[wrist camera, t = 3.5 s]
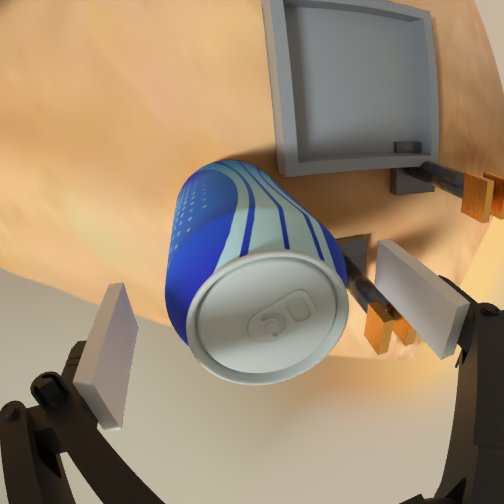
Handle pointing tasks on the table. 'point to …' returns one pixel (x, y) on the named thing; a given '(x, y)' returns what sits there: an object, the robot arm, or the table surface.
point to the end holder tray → (351, 84)
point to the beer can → (252, 277)
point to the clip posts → (409, 182)
